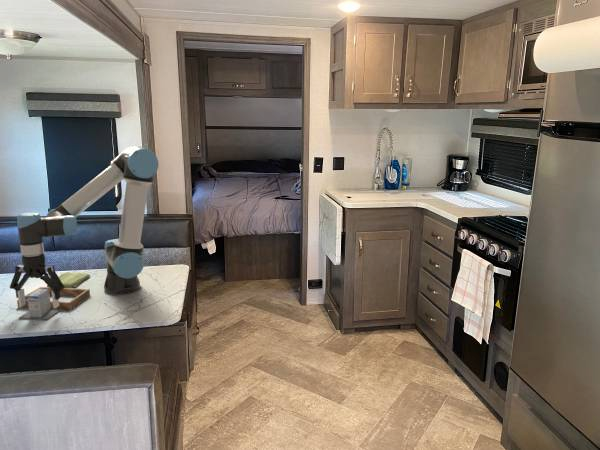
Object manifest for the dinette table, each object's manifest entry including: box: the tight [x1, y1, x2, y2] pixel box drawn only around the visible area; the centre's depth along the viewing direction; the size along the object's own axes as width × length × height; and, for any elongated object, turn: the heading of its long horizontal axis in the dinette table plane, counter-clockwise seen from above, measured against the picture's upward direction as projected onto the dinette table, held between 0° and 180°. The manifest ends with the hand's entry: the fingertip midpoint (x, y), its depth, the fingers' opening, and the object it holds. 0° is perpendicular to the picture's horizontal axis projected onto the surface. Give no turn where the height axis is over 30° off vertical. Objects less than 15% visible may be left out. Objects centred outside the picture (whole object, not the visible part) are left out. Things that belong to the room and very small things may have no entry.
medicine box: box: [27, 288, 51, 317], centre depth 173 cm, size 8×4×9 cm, turn 3°
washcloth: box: [46, 271, 91, 289], centre depth 208 cm, size 13×18×3 cm
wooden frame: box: [16, 286, 91, 311], centre depth 186 cm, size 22×15×3 cm
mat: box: [18, 309, 62, 321], centre depth 174 cm, size 11×9×1 cm
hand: (39, 306), depth 173 cm, fingers open, 13 cm apart
